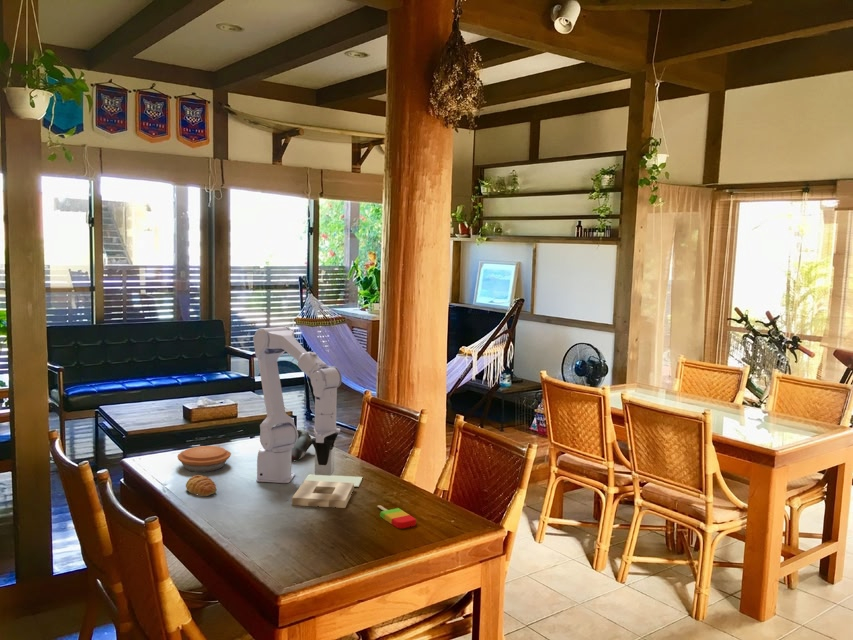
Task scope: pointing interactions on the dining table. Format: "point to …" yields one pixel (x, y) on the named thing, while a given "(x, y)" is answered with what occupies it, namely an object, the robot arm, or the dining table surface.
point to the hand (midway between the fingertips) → (324, 461)
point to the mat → (335, 479)
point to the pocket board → (323, 494)
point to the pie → (204, 458)
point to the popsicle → (397, 517)
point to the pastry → (201, 485)
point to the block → (327, 468)
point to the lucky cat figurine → (300, 444)
